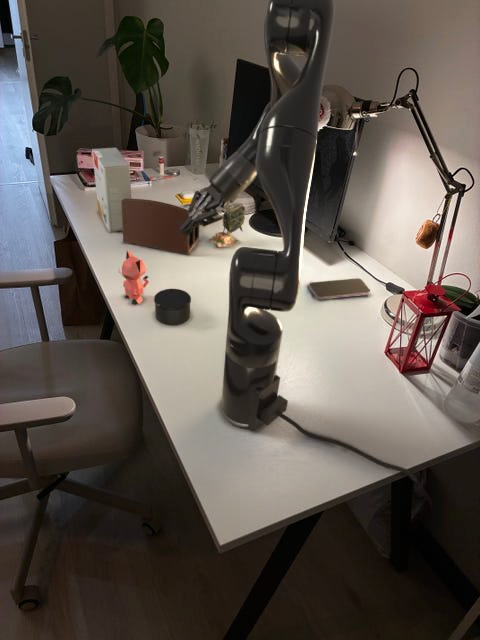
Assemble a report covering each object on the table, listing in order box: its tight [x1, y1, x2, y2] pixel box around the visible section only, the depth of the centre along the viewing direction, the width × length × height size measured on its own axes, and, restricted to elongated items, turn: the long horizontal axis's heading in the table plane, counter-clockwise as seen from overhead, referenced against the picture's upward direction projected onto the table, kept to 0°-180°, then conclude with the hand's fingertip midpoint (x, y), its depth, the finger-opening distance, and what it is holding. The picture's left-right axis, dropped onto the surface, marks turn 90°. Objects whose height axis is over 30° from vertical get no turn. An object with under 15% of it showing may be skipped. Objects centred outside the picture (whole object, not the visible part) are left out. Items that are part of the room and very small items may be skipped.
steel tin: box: [153, 288, 192, 326], centre depth 116 cm, size 8×8×5 cm
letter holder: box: [121, 198, 200, 256], centre depth 143 cm, size 10×20×14 cm, turn 76°
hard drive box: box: [91, 147, 133, 233], centre depth 150 cm, size 16×8×20 cm, turn 25°
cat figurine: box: [118, 249, 150, 306], centre depth 119 cm, size 7×7×12 cm
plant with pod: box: [208, 201, 246, 248], centre depth 144 cm, size 8×11×20 cm
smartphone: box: [308, 277, 371, 300], centre depth 132 cm, size 7×1×15 cm
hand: (182, 232), depth 117 cm, fingers closed
